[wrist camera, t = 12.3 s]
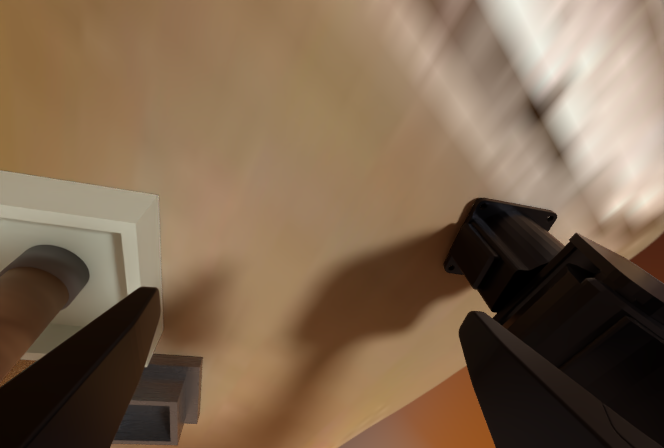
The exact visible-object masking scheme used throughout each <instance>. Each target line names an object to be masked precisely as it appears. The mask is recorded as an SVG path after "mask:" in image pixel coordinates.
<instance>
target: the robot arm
mask: <svg viewBox="0 0 664 448" xmlns="http://www.w3.org/2000/svg"><path fill="white" fill-rule="evenodd" d="M482 204H484V205H483V206H482V207H480V206H481V205H482ZM549 216H550V217H549ZM548 217H549V218H548ZM556 219H557V215H556V213H554V212H553V211H551V210H546V209H541V208H536V207H530V206H525V205H520V204H515V203H509V202H504V201H499V200H493V199H488V198H479V199H478V200H476V202H475V203H474V205H473V207H472V209H471V211H470V213H469V215H468V217H467V219H466V221H465V223H464V225H463V226H462V228H461V229H460V231H459V233H458V235H457V237H456V239H455V241H454V243H453V245H452V247H451V249H450V253H449V255H448V257H447V259H446V261H445V263H444V265H443V267H444V269H445V271H446V272H448V273H454V274H461V275H465V277H466V279H467V280H468V282H469V283H470V285H471V286H472V288H473V289H475V290H478V292H479V293H480V295H481V296H482V298H483V299H484V301H485V302H486V304H487V305H488V307H489V308H490V310H491V311H492V312H496V313H497V314H496V315H495V316H494V317H493V318H491V317H490V316H488V315H487V314H486V313H484V312H480V311H470V312H469V313H468V314H467V316H466V318H465V320H464V321H463V323H462V325H461V327H460V329H459V338H460V342H461V346H462V349H463V353H464V357H465V360H466V364H467V368H468V371H469V375H470V379H471V382H472V385H473V388H474V391H475V393H476V396H477V399H478V401H479V404H480V407H481V409H482V412H483V415H484V417H485V420H486V423H487V425H488V428H489V430H490V433H491V436H492V438H493V441H494V444H495V447H496V448H664V284H663V283H662V282H660V281H659V280H657V279H656V278H654V277H653V276H652V275H650V274H649V273H647V272H646V271H644V270H643V269H641V268H639V267H638V266H637V265H635V264H634V263H632V262H631V261H629V260H628V259H626V258H624V257H622V256H620V255H618V254H617V253H615V252H613V251H611V250H609V249H607V248H605V247H603V246H601V245H599V244H597V243H595V242H594V241H592V240H590V239H588V238H586V237H584V236H582V235H580V234H578V233H575V234H574V235H573V236H572V237H571V238H570V239H569V241H570V242H569V243H568V244H567V245H566V246H564V245H563V244H562V243H561V242H559V241H558V240H557V239H556V238H555V237H553V236H552V235H551V234H550V233H549V232H548V231H549V230H550V228H551V227H552V225H553V224H554V222H555V221H556ZM451 265H452V266H451ZM449 266H451V267H449ZM160 314H161V306H160V294H159V290H158V288H156V287H146V286H142V287H139V288H137V289H136V290H135V291H133V292H132V293H131V294H129V295H128V296H126V297H125V298H124V299H122V300H121V301H119V302H118V303H117V304H115V305H114V306H112V307H111V308H110V309H108V310H107V311H105V312H104V313H103V314H101V315H100V316H99V317H97V318H96V319H94V320H93V321H92V322H90V323H89V324H87V325H86V326H85V327H83V328H82V329H80V330H79V331H78V332H76V333H75V334H74V335H72V336H71V337H69V338H68V339H67V340H65V341H64V342H62V343H61V344H60V345H58V346H57V347H55V348H54V349H53V350H51V351H50V352H48V353H47V354H46V355H44V356H43V357H42V358H40V359H39V360H37V361H36V362H35V363H33V364H32V365H30V366H29V367H28V368H26V369H25V370H23V371H22V372H21V373H19V374H18V375H17V376H15V377H14V378H12V379H11V380H10V381H8V382H7V383H5V384H4V385H3V386H1V387H0V448H110V446H111V444H112V442H113V440H114V437H115V435H116V433H117V431H118V428H119V426H120V424H121V422H122V419H123V417H124V415H125V413H126V410H127V408H128V406H129V403H130V401H131V399H132V397H133V394H134V392H135V390H136V388H137V385H138V383H139V381H140V378H141V376H142V373H143V370H144V367H145V364H146V361H147V357H148V354H149V351H150V348H151V345H152V341H153V338H154V335H155V332H156V329H157V325H158V322H159V319H160Z"/></svg>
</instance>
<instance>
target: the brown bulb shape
mask: <svg viewBox="0 0 664 448" xmlns="http://www.w3.org/2000/svg"><path fill="white" fill-rule="evenodd" d="M89 277H90V274H89V270H88V267H87V265H86V264H85V263H84V261H83V260H82V259H81V258H80V257H78V256H77V255H76V254H74V253H73V252H71V251H69V250H67V249H64V248H62V247H58V246H54V245H36V246H33V247H31V248H29V249H27V250H26V251H25V252H23V253H22V254H21V255H20V256H19V257H17V258H16V259H15V260H14V261H13V262H11V263H10V264H9V265H8V266H7V267H5V268H4V269H3V270H2V271H1V272H0V383H1V381H2V380H3V379H4V378H5V377H6V375H7V374H8V373H9V372H10V371H11V369H12V368H13V367H14V366H15V365H16V363H17V362H18V361H19V360H20V359H21V357H22V356H23V355H24V354H25V352H26V351H27V350H28V349H29V348H30V346H31V345H32V344H33V343H34V342H35V340H36V339H37V338H38V337H39V336H40V334H41V333H42V332H43V331H44V330H45V328H46V327H47V326H48V325H49V324H50V322H51V321H52V320H53V319H54V318H55V316H56V315H57V314H58V313H59V312H60V311H61V310H63V309H65V308H67V307H68V306H69V305H70V304H71V302H72V301H73V300H74V299H75V297H76V296H77V295H78V294H79V293H80V291H81V290H82V289H83V288H84V286H85V285H86V284H87V283H88V281H89Z"/></svg>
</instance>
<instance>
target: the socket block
mask: <svg viewBox="0 0 664 448" xmlns="http://www.w3.org/2000/svg"><path fill="white" fill-rule="evenodd" d="M202 360H203V358H202V357H188V356H174V355H160V354H153V355H152V357H151V359H150V362H149V364H148V366H147V367H144V370H143V373H142V376H141V378H140V381H139V383H138V385H137V388H136V390H135V392H134V394H133V397H132V399H131V401H130V403H129V406H128V408H127V410H126V413H125V415H124V417H123V419H122V422H121V424H120V426H119V428H118V431H117V433H116V435H115V437H114V440H113V442H112V444H146V445H178V442H179V439H180V435H181V432H182V428H183V425H184V423H187V424H197V422H198V418H199V415H200V398H201V379H202Z"/></svg>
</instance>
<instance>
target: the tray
mask: <svg viewBox="0 0 664 448" xmlns="http://www.w3.org/2000/svg"><path fill="white" fill-rule="evenodd" d="M36 245H54V246H58V247H62V248H64V249H67V250H69V251H71V252H73V253H74V254H76V255H77V256H78V257H80V258H81V259H82V260H83V261H84V263H85V264H86V265H87V267H88V270H89V274H90V277H89V281H88V283H87V284H86V285H85V286H84V288H83V289H82V290H81V291H80V293H79V294H78V295H77V296H76V297H75V299H74V300H73V301H72V302H71V304H70V305H69V306H68V307H67V308H65V309H63V310H61V311H60V312H59V313H58V314H57V315H56V316H55V318H54V319H53V320H52V321H51V322H50V324H49V325H48V326H47V327H46V328H45V330H44V331H43V332H42V333H41V334H40V336H39V337H38V338H37V339H36V340H35V342H34V343H33V344H32V345H31V346H30V348H29V349H28V350H27V351H26V352H25V354H24V355H23V356H22V357H21V360H39V359H40V358H42V357H43V356H44V355H46V354H47V353H48V352H50V351H51V350H53V349H54V348H55V347H57V346H58V345H60V344H61V343H62V342H64V341H65V340H67V339H68V338H69V337H71V336H72V335H74V334H75V333H76V332H78V331H79V330H80V329H82V328H83V327H85V326H86V325H87V324H89V323H90V322H92V321H93V320H94V319H96V318H97V317H99V316H100V315H101V314H103V313H104V312H105V311H107V310H108V309H110V308H111V307H112V306H114V305H115V304H117V303H118V302H119V301H121V300H122V299H124V298H125V297H126V296H128V295H129V294H131V293H132V292H133V291H135V290H136V289H137V288H139V287H142V286H146V287H156V288H158V290H159V294H160V306H161V314H160V319H159V322H158V325H157V329H156V332H155V335H154V338H153V341H152V345H151V348H150V351H149V354H148V357H147V361H146V364H145V367H147V366H148V364H149V362H150V359H151V357H152V355H153V353H154V350H155V348H156V346H157V344H158V341H159V339H160V337H161V334H162V332H163V330H164V328H163V300H162V272H161V245H160V217H159V195H154V194H148V193H142V192H135V191H129V190H122V189H116V188H110V187H103V186H97V185H90V184H84V183H78V182H71V181H65V180H58V179H52V178H46V177H39V176H33V175H26V174H20V173H14V172H7V171H1V170H0V272H1V271H2V270H3V269H4V268H5V267H7V266H8V265H9V264H10V263H11V262H13V261H14V260H15V259H16V258H17V257H19V256H20V255H21V254H22V253H23V252H25V251H26V250H27V249H29V248H31V247H33V246H36Z"/></svg>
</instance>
